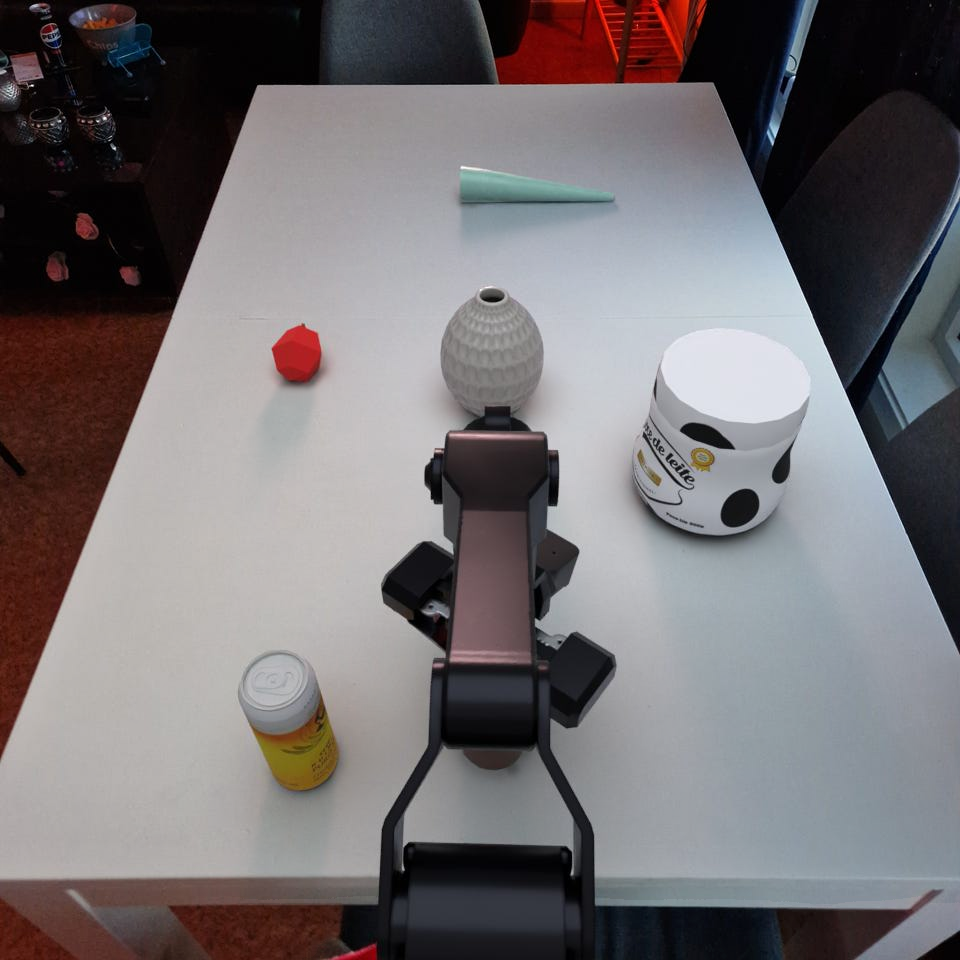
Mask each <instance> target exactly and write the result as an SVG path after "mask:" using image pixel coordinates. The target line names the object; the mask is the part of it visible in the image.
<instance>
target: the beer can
mask: <svg viewBox="0 0 960 960" xmlns="http://www.w3.org/2000/svg"><path fill="white" fill-rule="evenodd" d="M237 697H238V702H239V706H240V707H241V709H242V712H243V713H244V716H245V718H246V720H247V722H248V724H249V726H250V728H251V731H252V733H253V735H254V737H255V740H256V741H257V743H258V744H257V745H258V746H259V748H260V750H261V752H262V754H263V756H264V758H265V760H266V763H267V765H268V768H269V769H270V772H271V773H272V776H273V777H274V779H275V780H276V782H277V783H278V784H280V785H281V786H282V787H284V788H286V789H289V790H293V791H306V790H310V789H313V788H315V787H318V786H319V785H321V784H322V783H324V782H325V781H327V779H328V778H329V777H330V776H331V775H332V773H333V772H334V770H335V769H336V766H337V763H338V759H339V747H338V744H337V740H336V736H335V734H334V731H333V727H332V723H331V721H330V717H329V715H328V711H327V707H326V705H325V701H324V698H323V694H322V692H321V688H320V684H319V682H318V679H317V675H316V671H315V669H314V667H313V666H312V664H311V663H310V662H309V660H307V658H305V657H303V656H301V655H299V654H298V653H297V652H295V651H293V650H290V649H285V648H276V649H270V650H267V651H264V652H262V653H260V654H258V655H256V656H255V657H253V659H251V660H250V661H249V662H248V663H247V665H246V666H245V667H244V669H243V671H242V673H241V676H240V680H239V683H238V687H237Z"/></svg>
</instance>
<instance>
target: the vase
mask: <svg viewBox="0 0 960 960" xmlns="http://www.w3.org/2000/svg"><path fill="white" fill-rule="evenodd" d="M544 353H545V351H544V342H543V338H542V335H541V332H540V329H539V326H538V325H537V323H536V321H535V319H534V317H533V316H532V314H531V313H530V312H529V311H528V309H527V308H526V307H525V306H524V305H523V304H522V303H520V302H519V301H517V299H515V298H514V297H511V296H510V294H509V292H508V291H507V290H506V289H505V288H502V287H499V286H494V285H493V286H485V287H482V288H480V289H478V290H477V291H476V293H475V295H474V296H472V297H471V298H469V299H468V300H466V301H465V302H464V303H462V304H461V305H460V307H459V308H458V309H457V310H456V311H455V312H454V313H453V315H452V316H451V318H450V320H449V321H448V323H447V325H446V327H445V329H444V332H443V335H442V338H441V343H440V353H439V354H440V355H439V357H440V360H439V361H440V368H441V375H442V377H443V380H444V382H445V385H446V387H447V389H448V391H449V392H450V394H451V395H452V396H453V398H454V399H455V400H456V402H458V403H459V404H460V405H461V407H462V408H464V409H465V410H467V411H468V412H470V413H472V414H474V415H476V416H478V417H479V418H480V417H482V416H484V411H485V405H487V406H511V414H512V413H514V412H515V411H517V410H519V409H520V408H521V407H522V406H523V405H525V403H526V402H528V400H529V399H530V398H531V396H532V395H533V394H534V392H535V391H536V389H537V387H538V386H539V385H538V384H539V382H540V379H541V378H542V374H543V368H544V358H545V357H544V356H545V355H544Z"/></svg>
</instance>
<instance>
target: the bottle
mask: <svg viewBox="0 0 960 960" xmlns="http://www.w3.org/2000/svg"><path fill="white" fill-rule="evenodd" d="M462 752H463V755H465V758H467V759H468V760H469V761H470V762H471V763H472V764H473V765H475V766H477V767H479V768H481V769H484V770H491V771H493V770H501V769H502V770H503V769H505V768H507V767H509V766H511V765H513V764H514V763H515V762H516V761H517V760H518V759H519V758H520V756H521V755H522V753H523V751H497V750H462Z"/></svg>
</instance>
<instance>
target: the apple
mask: <svg viewBox="0 0 960 960" xmlns="http://www.w3.org/2000/svg"><path fill="white" fill-rule="evenodd" d="M321 346H322V345H321V341H320V337H319V332H317V331H314V330H312V329H310V328H307V327H306V324H305V323H304V322H302V323H301V324H298V325H296V326H294V327H291V328H289V329H287V330H286V331H285V332H284V333H283V334H282V336H280V338H279V339H278V340H277V341H276V342H275V344H274V345H272V347H271V352H272V357H273V360H274V364H275V368H276V371H277V372H278V373H280V375H282V376H283V377H284V378H285V379H286V380H287V381H291V382H292V381H294V382H304V383H308V382H309V380H310V379H311V378H312V377H313V376H314V374H315V373H316V372H317V371H318V370H319V369H320V366H321V360H322V355H323V354H322V351H323V350H322V347H321Z"/></svg>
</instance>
